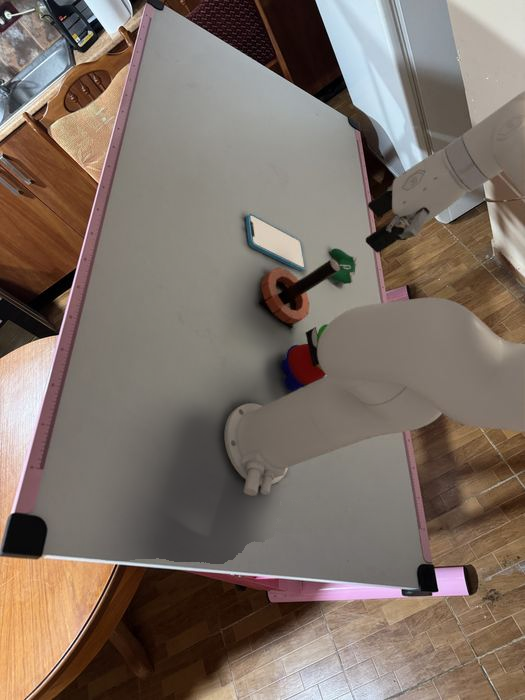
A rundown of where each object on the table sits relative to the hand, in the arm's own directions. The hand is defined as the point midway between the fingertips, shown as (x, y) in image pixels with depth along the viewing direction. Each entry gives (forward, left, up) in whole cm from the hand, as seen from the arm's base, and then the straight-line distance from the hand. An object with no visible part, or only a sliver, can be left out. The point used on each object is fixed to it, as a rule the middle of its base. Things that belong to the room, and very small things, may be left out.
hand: (372, 227), depth 92 cm
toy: (-18, -5, -22) cm, 29 cm away
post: (-4, 0, -22) cm, 22 cm away
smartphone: (+9, +4, -22) cm, 24 cm away
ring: (-3, 0, -21) cm, 21 cm away
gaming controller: (+17, -13, -22) cm, 31 cm away
